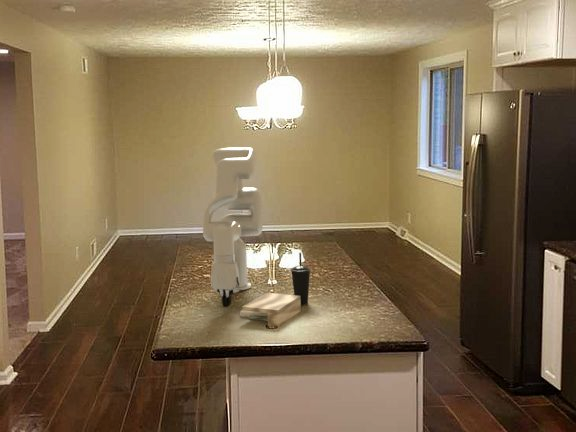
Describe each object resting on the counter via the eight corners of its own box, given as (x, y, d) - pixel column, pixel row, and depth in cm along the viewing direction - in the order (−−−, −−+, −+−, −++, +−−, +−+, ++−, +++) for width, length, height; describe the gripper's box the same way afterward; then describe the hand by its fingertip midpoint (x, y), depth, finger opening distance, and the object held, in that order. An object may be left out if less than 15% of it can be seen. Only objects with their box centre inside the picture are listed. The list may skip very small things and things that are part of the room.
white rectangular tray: (240, 316, 263) (240, 311, 263) (248, 311, 269) (248, 306, 269) (275, 319, 258) (275, 314, 258) (283, 314, 264) (282, 309, 264)
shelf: (242, 322, 256) (241, 306, 255) (267, 307, 274) (266, 292, 273) (278, 326, 250) (277, 310, 249) (300, 311, 268) (300, 295, 267)
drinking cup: (299, 299, 284) (298, 250, 281) (315, 302, 279) (314, 252, 276) (287, 304, 278) (286, 253, 275) (303, 307, 273) (301, 255, 270)
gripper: (201, 259, 266) (204, 307, 269) (237, 262, 260) (239, 311, 263) (212, 255, 273) (214, 301, 276) (247, 257, 267) (249, 305, 270)
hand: (226, 306), depth 270 cm, fingers closed
